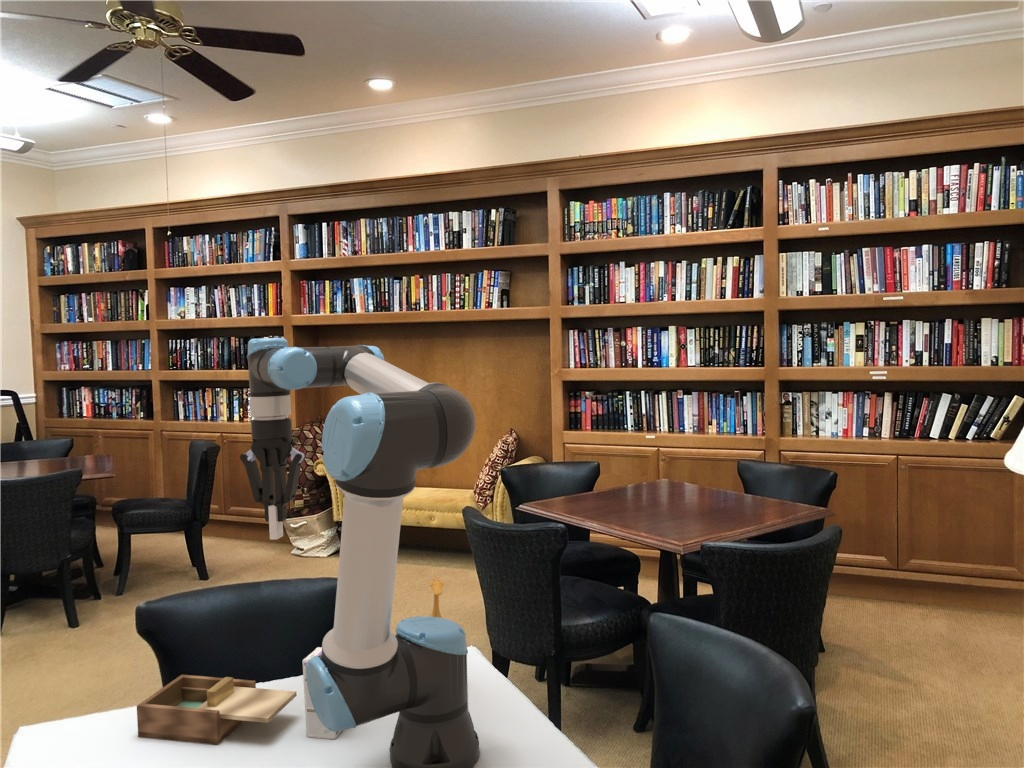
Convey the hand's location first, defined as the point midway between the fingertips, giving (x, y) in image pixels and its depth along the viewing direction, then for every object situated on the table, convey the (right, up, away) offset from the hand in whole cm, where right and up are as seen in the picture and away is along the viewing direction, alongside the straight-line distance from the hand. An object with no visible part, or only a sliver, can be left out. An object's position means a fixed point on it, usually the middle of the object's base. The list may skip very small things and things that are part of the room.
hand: (276, 537), depth 152 cm
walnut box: (-12, -33, -7) cm, 36 cm away
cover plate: (-3, -29, -9) cm, 31 cm away
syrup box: (+12, -33, -11) cm, 37 cm away
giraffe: (+31, -32, +4) cm, 45 cm away
